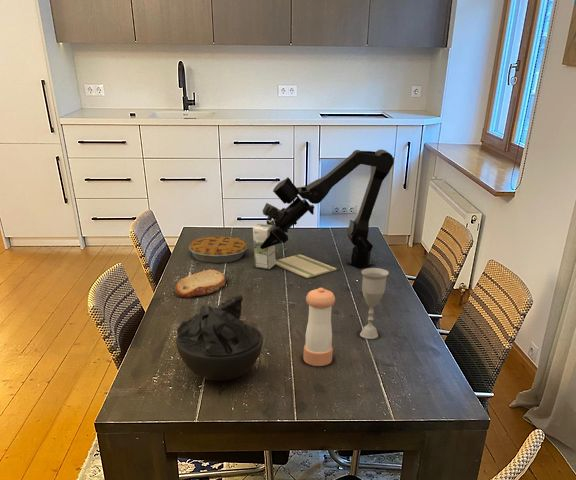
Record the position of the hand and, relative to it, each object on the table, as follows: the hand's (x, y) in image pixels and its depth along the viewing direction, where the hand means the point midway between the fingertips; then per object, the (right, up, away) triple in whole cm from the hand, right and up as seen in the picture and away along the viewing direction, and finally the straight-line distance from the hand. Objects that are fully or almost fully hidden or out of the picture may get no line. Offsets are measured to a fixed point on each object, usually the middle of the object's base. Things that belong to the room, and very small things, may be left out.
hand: (260, 244), depth 205 cm
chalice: (+32, -35, -43) cm, 64 cm away
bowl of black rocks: (-6, -47, -64) cm, 80 cm away
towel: (+15, -7, +5) cm, 18 cm away
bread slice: (-19, -17, -14) cm, 29 cm away
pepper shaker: (+17, -43, -56) cm, 73 cm away
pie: (-16, -1, +15) cm, 22 cm away
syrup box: (+2, -7, +4) cm, 8 cm away
